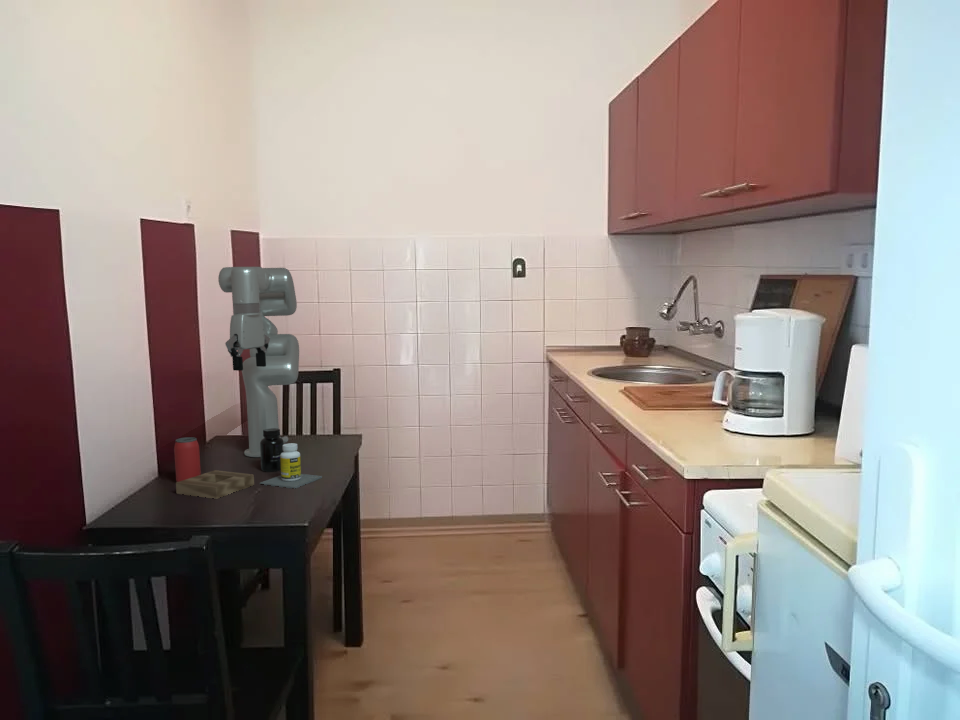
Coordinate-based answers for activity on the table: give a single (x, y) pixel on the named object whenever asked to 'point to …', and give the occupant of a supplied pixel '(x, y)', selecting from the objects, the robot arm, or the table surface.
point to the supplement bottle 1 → (271, 450)
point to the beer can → (187, 458)
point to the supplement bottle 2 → (290, 463)
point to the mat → (291, 484)
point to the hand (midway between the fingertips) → (249, 368)
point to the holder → (215, 484)
